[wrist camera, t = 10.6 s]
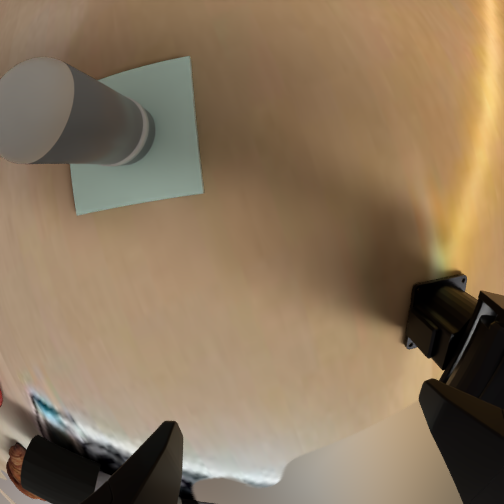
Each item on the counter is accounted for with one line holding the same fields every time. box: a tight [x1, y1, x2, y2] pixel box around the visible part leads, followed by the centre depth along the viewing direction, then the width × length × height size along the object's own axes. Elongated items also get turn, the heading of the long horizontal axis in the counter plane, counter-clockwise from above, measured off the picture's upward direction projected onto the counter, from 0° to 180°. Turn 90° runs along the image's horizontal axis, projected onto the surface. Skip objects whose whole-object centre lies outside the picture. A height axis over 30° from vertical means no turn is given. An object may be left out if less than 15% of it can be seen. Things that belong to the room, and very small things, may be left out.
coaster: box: [70, 56, 204, 215], centre depth 18 cm, size 10×10×1 cm
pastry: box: [6, 443, 46, 501], centre depth 27 cm, size 17×15×8 cm
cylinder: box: [0, 57, 155, 166], centre depth 11 cm, size 5×5×12 cm
